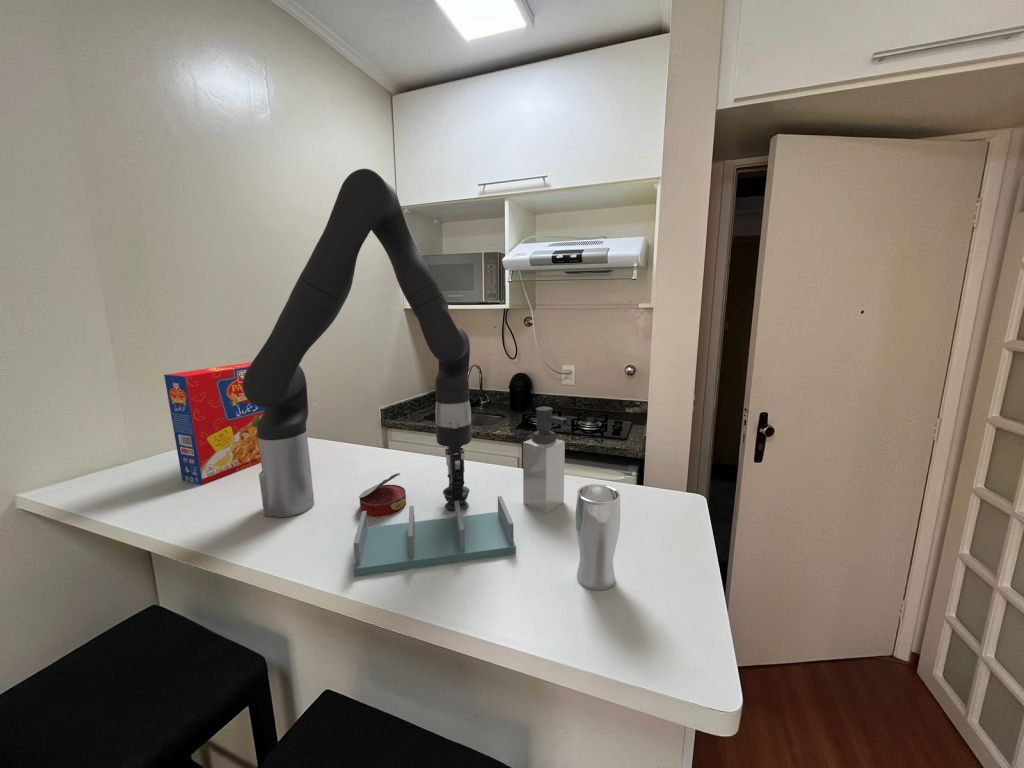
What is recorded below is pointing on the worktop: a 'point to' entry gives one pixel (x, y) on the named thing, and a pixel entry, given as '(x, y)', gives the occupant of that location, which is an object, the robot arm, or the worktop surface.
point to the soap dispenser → (544, 464)
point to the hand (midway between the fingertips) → (456, 493)
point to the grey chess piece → (448, 496)
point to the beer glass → (597, 534)
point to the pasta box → (213, 422)
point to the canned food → (383, 499)
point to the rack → (432, 541)
